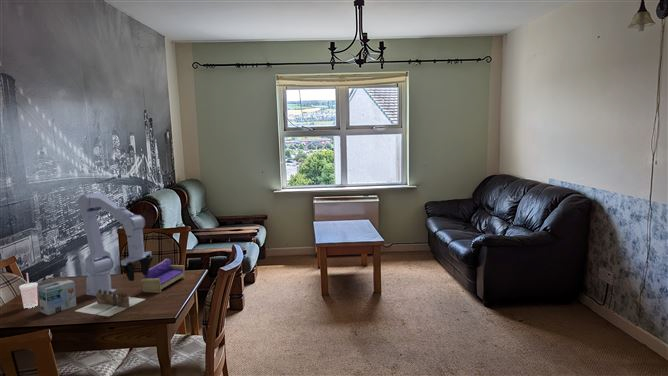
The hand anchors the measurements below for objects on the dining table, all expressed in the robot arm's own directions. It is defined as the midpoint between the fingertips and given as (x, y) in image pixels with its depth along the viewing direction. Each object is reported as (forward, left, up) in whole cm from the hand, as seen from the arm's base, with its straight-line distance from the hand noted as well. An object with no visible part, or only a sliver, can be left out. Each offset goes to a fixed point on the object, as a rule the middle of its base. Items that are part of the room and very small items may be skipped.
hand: (138, 277), depth 172 cm
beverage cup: (-39, -18, -10) cm, 44 cm away
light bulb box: (-24, -17, -10) cm, 31 cm away
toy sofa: (-3, +18, -10) cm, 21 cm away
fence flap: (-9, -8, -9) cm, 15 cm away
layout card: (-7, -8, -10) cm, 14 cm away
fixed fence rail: (0, -8, -9) cm, 12 cm away
